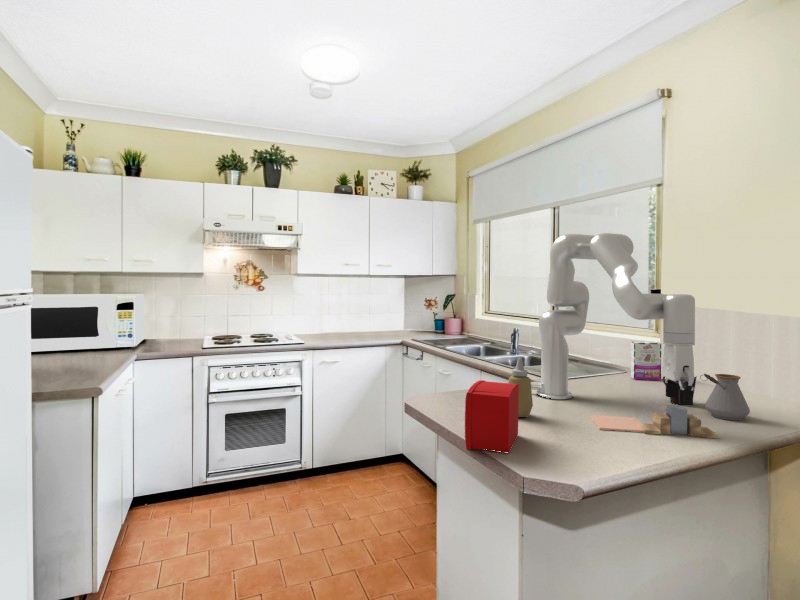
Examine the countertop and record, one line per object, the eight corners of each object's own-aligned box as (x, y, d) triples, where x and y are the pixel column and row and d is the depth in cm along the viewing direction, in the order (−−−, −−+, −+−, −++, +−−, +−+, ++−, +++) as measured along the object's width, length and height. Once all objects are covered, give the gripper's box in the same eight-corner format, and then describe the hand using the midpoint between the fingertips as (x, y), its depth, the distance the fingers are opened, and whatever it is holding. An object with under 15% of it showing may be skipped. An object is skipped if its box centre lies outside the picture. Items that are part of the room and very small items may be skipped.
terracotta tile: (599, 429, 130) (599, 427, 130) (590, 417, 143) (590, 415, 143) (649, 433, 127) (649, 430, 127) (635, 419, 140) (635, 417, 140)
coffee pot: (714, 409, 152) (716, 364, 151) (756, 418, 142) (757, 370, 142) (681, 419, 140) (683, 370, 140) (724, 429, 131) (725, 377, 130)
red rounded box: (479, 430, 129) (479, 377, 129) (518, 435, 125) (519, 380, 125) (464, 449, 114) (464, 388, 114) (508, 455, 110) (509, 393, 110)
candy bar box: (656, 378, 203) (657, 341, 202) (661, 381, 198) (662, 342, 198) (629, 377, 205) (630, 340, 204) (633, 379, 200) (634, 342, 199)
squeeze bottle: (533, 413, 146) (534, 357, 145) (531, 420, 138) (532, 361, 138) (507, 411, 149) (508, 355, 148) (504, 418, 141) (505, 359, 140)
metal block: (670, 434, 127) (671, 408, 126) (665, 429, 131) (666, 405, 130) (686, 435, 126) (687, 409, 126) (681, 430, 130) (681, 406, 129)
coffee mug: (700, 407, 155) (701, 377, 155) (672, 405, 157) (672, 376, 156) (686, 398, 166) (686, 371, 166) (660, 397, 168) (660, 370, 168)
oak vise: (644, 433, 127) (645, 417, 126) (637, 426, 133) (637, 410, 133) (718, 438, 123) (718, 421, 123) (706, 430, 130) (706, 414, 130)
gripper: (653, 336, 136) (653, 393, 137) (675, 341, 120) (675, 407, 120) (681, 336, 135) (681, 394, 135) (708, 342, 118) (707, 409, 118)
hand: (678, 400), depth 127 cm, fingers open, 9 cm apart
